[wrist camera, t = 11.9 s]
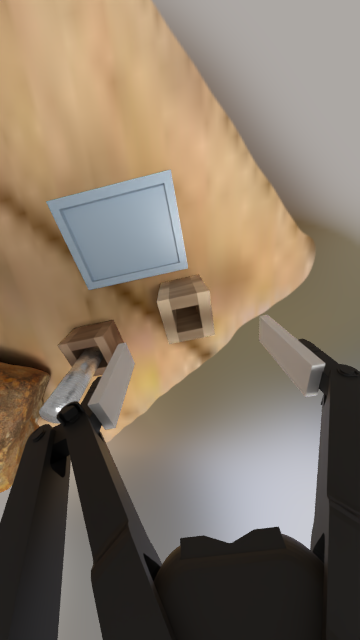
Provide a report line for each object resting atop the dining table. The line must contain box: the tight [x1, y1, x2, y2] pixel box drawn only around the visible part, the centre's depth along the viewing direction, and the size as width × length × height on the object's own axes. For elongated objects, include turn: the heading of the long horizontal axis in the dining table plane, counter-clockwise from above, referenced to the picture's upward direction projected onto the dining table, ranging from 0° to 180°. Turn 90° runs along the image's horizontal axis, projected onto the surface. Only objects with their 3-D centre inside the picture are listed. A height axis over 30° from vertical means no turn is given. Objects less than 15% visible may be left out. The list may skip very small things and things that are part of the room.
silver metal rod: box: [39, 346, 104, 423], centre depth 24 cm, size 3×3×14 cm
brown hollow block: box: [57, 320, 124, 376], centre depth 28 cm, size 7×7×5 cm
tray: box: [46, 170, 188, 290], centre depth 22 cm, size 11×15×1 cm
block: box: [157, 275, 215, 344], centre depth 23 cm, size 6×6×8 cm
